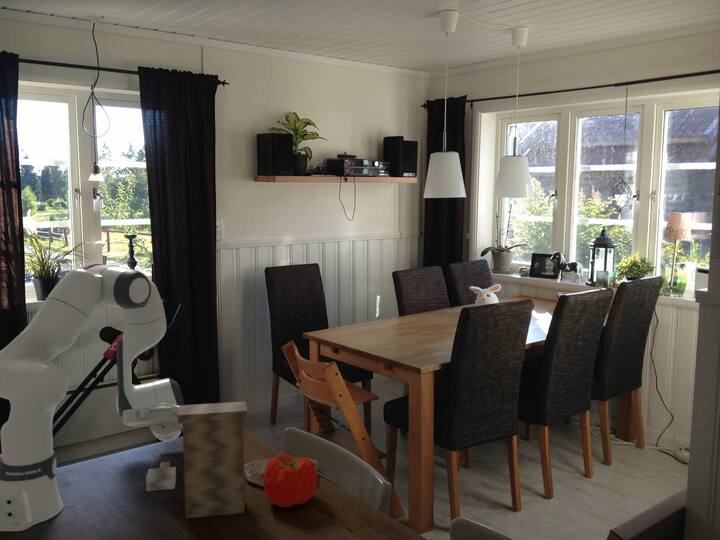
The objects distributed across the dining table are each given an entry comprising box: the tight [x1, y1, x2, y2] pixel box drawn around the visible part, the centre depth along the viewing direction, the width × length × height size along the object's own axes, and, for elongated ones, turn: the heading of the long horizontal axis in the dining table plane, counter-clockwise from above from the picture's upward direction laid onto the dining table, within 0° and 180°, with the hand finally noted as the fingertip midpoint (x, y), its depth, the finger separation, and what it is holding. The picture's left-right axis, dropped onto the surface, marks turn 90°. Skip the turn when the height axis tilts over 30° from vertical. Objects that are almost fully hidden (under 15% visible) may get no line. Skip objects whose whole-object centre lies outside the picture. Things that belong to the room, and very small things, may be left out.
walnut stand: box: [178, 401, 248, 519], centre depth 161 cm, size 16×7×26 cm, turn 102°
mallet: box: [145, 461, 177, 492], centre depth 181 cm, size 7×16×4 cm, turn 12°
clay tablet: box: [244, 458, 319, 487], centre depth 181 cm, size 14×5×20 cm
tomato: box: [263, 453, 318, 508], centre depth 167 cm, size 13×14×12 cm
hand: (159, 410), depth 174 cm, fingers open, 6 cm apart
